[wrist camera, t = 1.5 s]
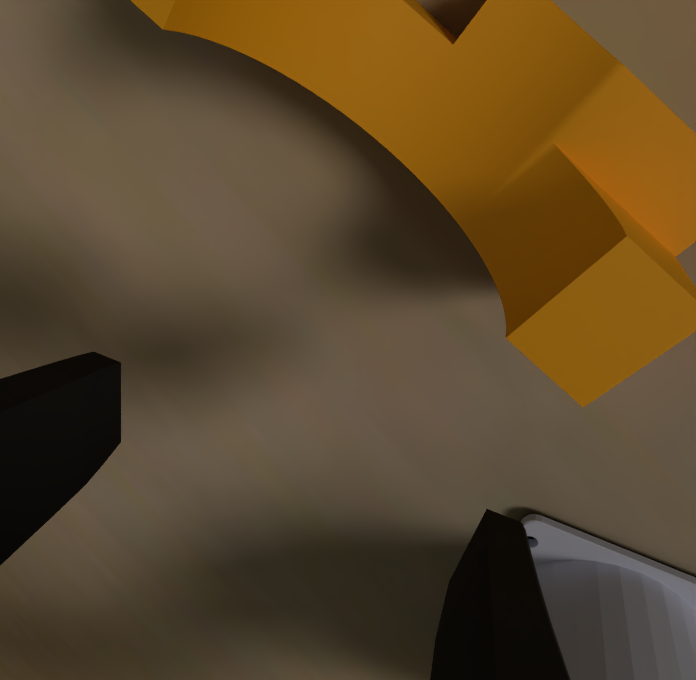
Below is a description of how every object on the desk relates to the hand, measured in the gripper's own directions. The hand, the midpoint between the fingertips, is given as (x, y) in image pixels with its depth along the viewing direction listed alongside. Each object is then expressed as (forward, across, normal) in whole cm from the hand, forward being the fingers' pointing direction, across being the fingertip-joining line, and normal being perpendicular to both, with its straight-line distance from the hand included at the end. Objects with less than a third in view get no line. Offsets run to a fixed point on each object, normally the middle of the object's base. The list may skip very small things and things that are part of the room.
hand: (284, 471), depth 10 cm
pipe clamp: (+9, 0, -7) cm, 11 cm away
